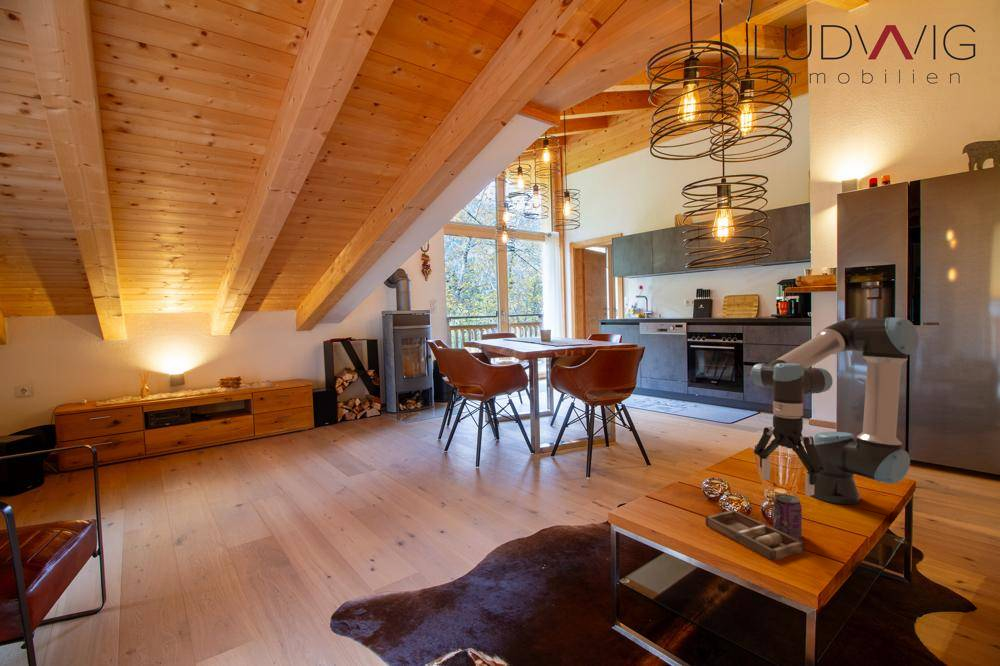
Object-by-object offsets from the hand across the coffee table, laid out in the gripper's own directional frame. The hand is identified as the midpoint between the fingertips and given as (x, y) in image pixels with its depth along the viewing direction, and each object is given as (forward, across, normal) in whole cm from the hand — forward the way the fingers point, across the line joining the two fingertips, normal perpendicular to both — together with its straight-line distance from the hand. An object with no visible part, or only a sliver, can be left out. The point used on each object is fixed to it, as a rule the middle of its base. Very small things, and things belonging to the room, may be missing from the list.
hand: (786, 486), depth 136 cm
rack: (+16, -3, -10) cm, 19 cm away
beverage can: (+16, 0, 0) cm, 16 cm away
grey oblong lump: (+15, +2, -10) cm, 18 cm away
